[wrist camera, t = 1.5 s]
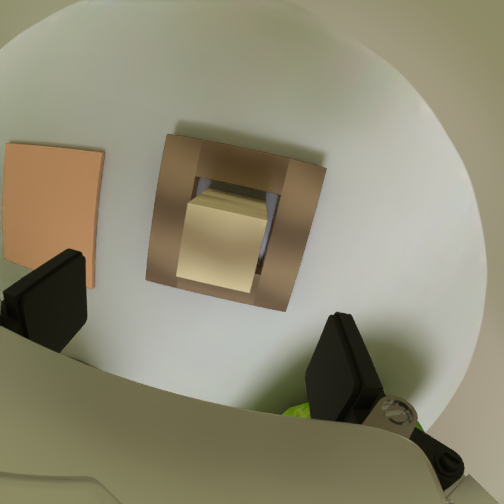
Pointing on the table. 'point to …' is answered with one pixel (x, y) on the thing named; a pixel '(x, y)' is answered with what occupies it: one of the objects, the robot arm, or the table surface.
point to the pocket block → (244, 174)
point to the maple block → (222, 239)
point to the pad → (50, 204)
